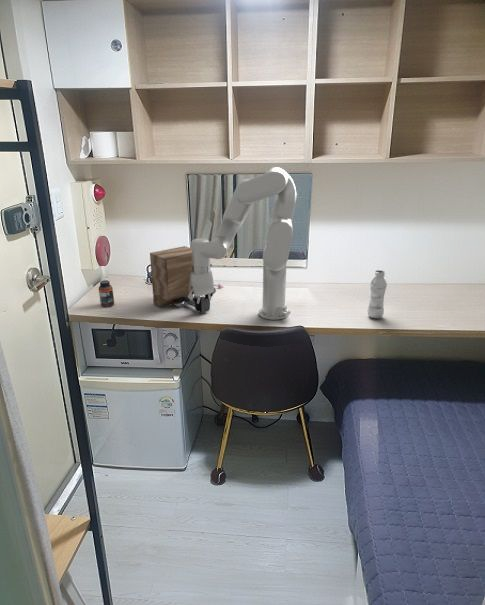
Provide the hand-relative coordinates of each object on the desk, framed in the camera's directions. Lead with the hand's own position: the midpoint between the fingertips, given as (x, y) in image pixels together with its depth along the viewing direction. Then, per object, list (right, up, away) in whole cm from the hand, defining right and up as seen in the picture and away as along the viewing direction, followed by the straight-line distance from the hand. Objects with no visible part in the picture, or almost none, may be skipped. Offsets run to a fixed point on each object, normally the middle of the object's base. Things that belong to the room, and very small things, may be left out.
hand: (202, 309), depth 196 cm
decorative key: (-2, +10, +32) cm, 33 cm away
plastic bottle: (+72, -3, -4) cm, 73 cm away
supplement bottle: (-43, +1, +9) cm, 44 cm away
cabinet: (-12, +2, +11) cm, 16 cm away
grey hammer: (-5, +1, +5) cm, 7 cm away
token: (-11, +1, +8) cm, 13 cm away
